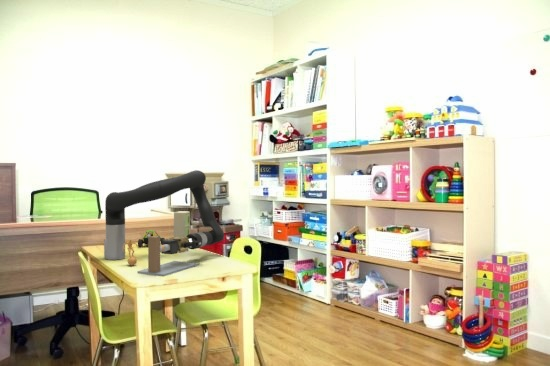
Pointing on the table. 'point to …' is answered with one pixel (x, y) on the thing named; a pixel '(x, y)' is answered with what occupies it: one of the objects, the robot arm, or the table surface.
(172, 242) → the dark grey slab
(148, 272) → the pipe rig
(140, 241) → the motor vehicle
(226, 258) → the table surface
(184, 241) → the sleeve
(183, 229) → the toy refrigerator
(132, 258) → the figurine
